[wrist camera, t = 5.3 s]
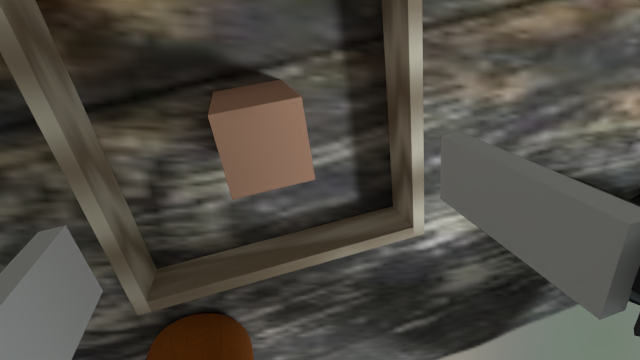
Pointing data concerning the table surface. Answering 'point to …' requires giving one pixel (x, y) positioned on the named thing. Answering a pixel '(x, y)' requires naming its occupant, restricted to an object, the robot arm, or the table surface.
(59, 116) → the frame
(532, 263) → the robot arm
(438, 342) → the table surface
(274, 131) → the block
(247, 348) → the wine bottle
